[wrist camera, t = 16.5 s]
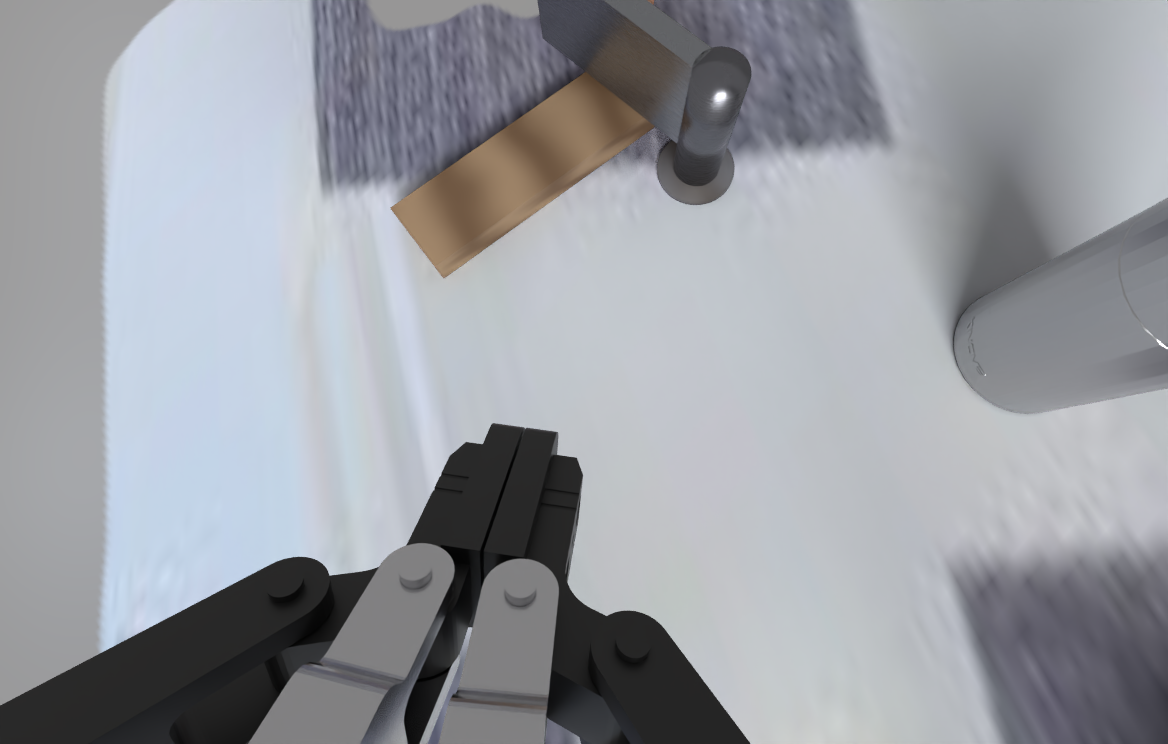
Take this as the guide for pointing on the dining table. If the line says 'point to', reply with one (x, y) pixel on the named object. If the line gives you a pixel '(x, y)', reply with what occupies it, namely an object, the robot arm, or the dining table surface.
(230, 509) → the dining table surface
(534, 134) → the door edge
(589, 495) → the dining table surface
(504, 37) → the dining table surface
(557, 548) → the robot arm
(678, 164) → the bar
